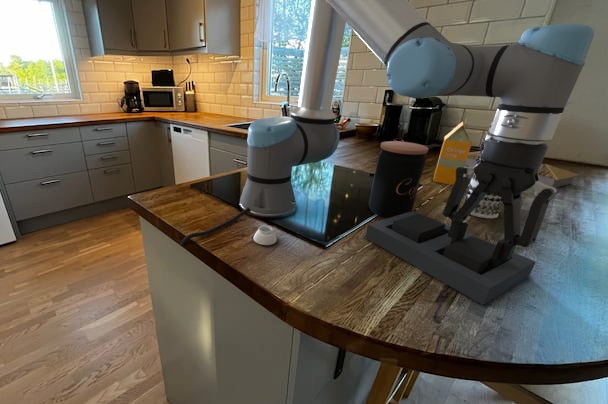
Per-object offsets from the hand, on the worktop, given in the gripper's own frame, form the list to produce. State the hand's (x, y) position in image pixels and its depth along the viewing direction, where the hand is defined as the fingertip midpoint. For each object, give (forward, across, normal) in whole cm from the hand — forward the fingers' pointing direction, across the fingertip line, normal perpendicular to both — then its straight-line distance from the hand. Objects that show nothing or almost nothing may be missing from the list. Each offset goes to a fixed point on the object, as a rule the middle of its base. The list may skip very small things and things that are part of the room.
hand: (470, 262), depth 56 cm
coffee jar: (+2, -25, +9) cm, 26 cm away
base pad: (+2, -6, 0) cm, 6 cm away
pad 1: (+2, -11, 0) cm, 11 cm away
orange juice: (+2, -34, +51) cm, 61 cm away
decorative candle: (+2, -14, +32) cm, 35 cm away
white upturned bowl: (+2, -27, -29) cm, 39 cm away
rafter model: (+2, -29, +84) cm, 89 cm away
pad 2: (+2, 0, 0) cm, 2 cm away
